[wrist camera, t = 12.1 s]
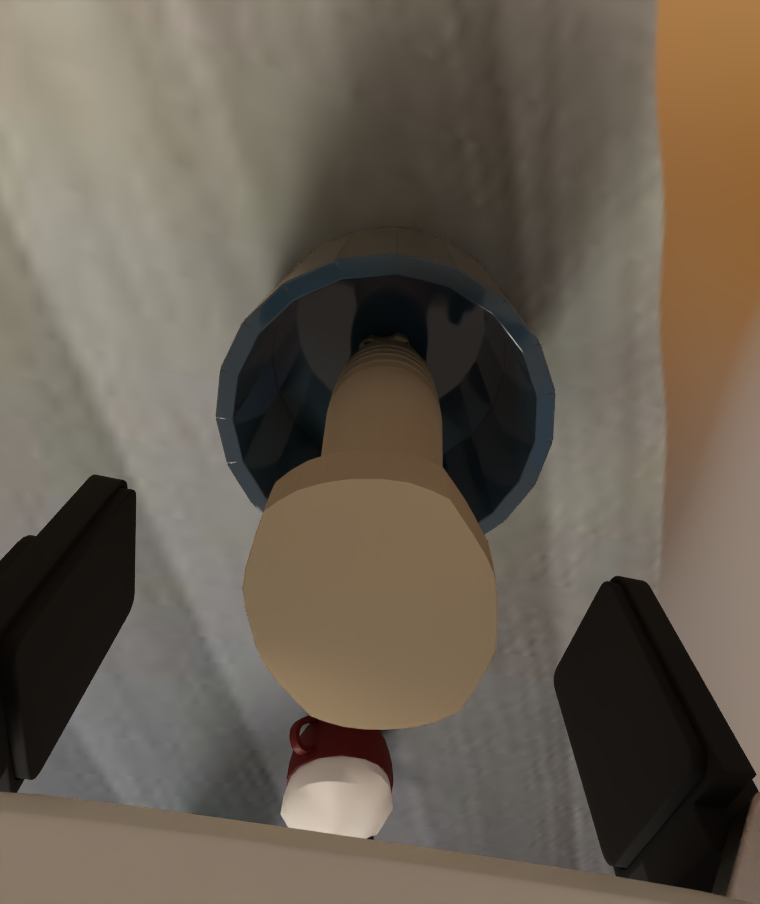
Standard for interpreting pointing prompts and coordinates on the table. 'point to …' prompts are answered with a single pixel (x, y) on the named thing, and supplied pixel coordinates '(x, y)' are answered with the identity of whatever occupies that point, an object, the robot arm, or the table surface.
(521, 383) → the crock
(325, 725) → the cocoa
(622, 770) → the robot arm
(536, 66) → the table surface
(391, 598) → the handle
